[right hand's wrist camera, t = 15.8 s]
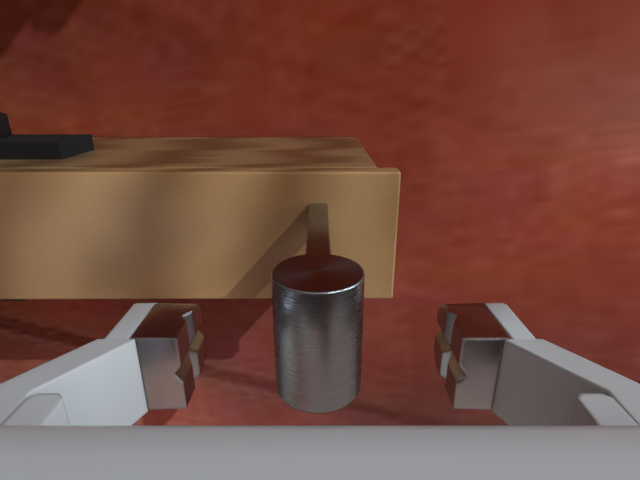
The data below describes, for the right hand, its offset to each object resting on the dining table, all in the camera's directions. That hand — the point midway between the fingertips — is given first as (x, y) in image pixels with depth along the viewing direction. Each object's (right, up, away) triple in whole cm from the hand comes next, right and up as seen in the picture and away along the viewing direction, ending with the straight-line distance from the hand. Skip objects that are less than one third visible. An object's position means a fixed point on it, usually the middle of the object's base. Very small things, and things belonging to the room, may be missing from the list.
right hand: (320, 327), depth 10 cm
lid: (-6, +2, +7) cm, 9 cm away
